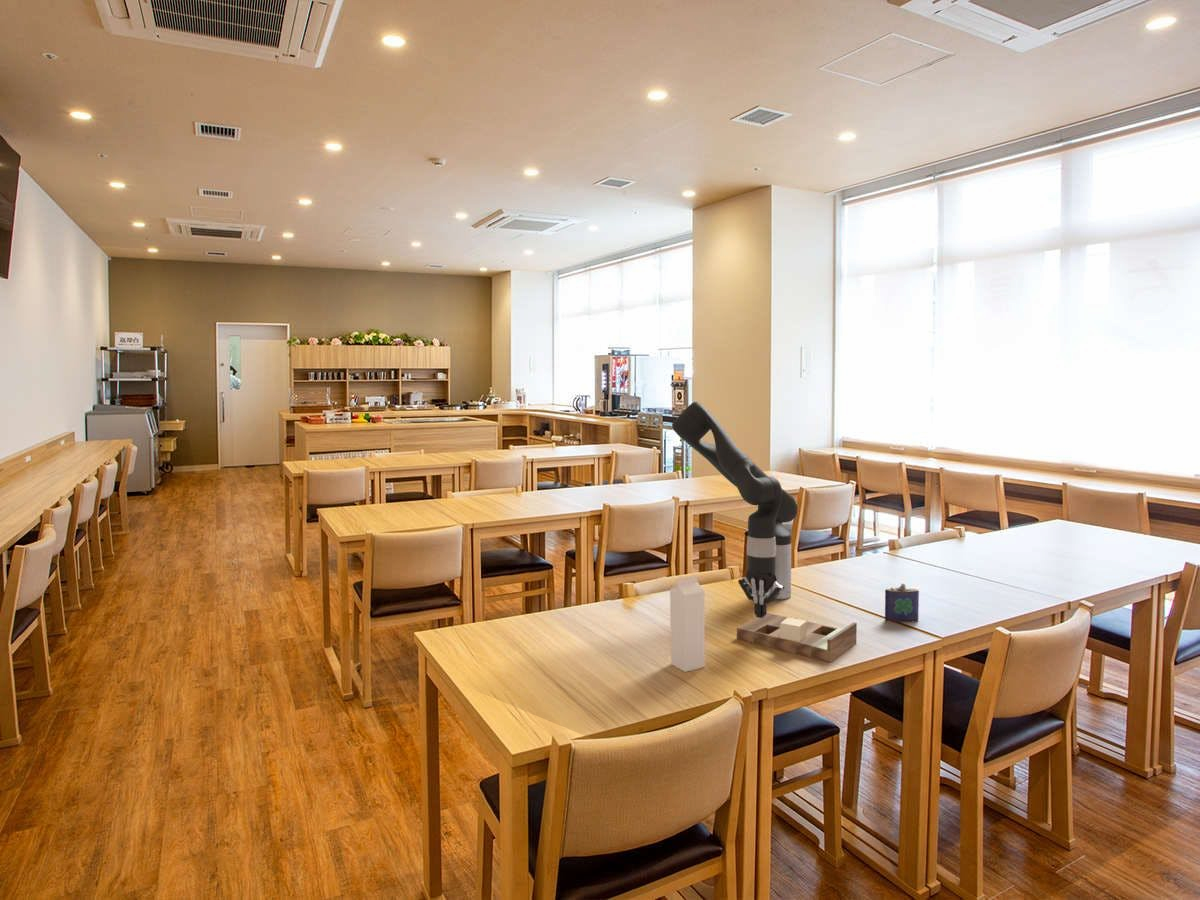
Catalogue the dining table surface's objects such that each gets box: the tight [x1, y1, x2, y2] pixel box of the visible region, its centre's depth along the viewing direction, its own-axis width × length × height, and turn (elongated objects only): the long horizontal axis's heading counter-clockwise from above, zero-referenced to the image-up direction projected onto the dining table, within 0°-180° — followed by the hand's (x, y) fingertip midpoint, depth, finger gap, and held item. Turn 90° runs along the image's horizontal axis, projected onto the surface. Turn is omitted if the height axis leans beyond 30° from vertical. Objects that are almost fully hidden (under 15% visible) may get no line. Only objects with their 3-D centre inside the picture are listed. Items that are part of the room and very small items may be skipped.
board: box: [736, 612, 858, 663], centre depth 193 cm, size 26×16×6 cm, turn 49°
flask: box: [884, 583, 920, 623], centre depth 206 cm, size 9×3×11 cm, turn 87°
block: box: [780, 617, 808, 642], centre depth 187 cm, size 5×5×4 cm
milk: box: [669, 575, 706, 673], centre depth 177 cm, size 6×6×22 cm
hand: (760, 616), depth 194 cm, fingers closed
